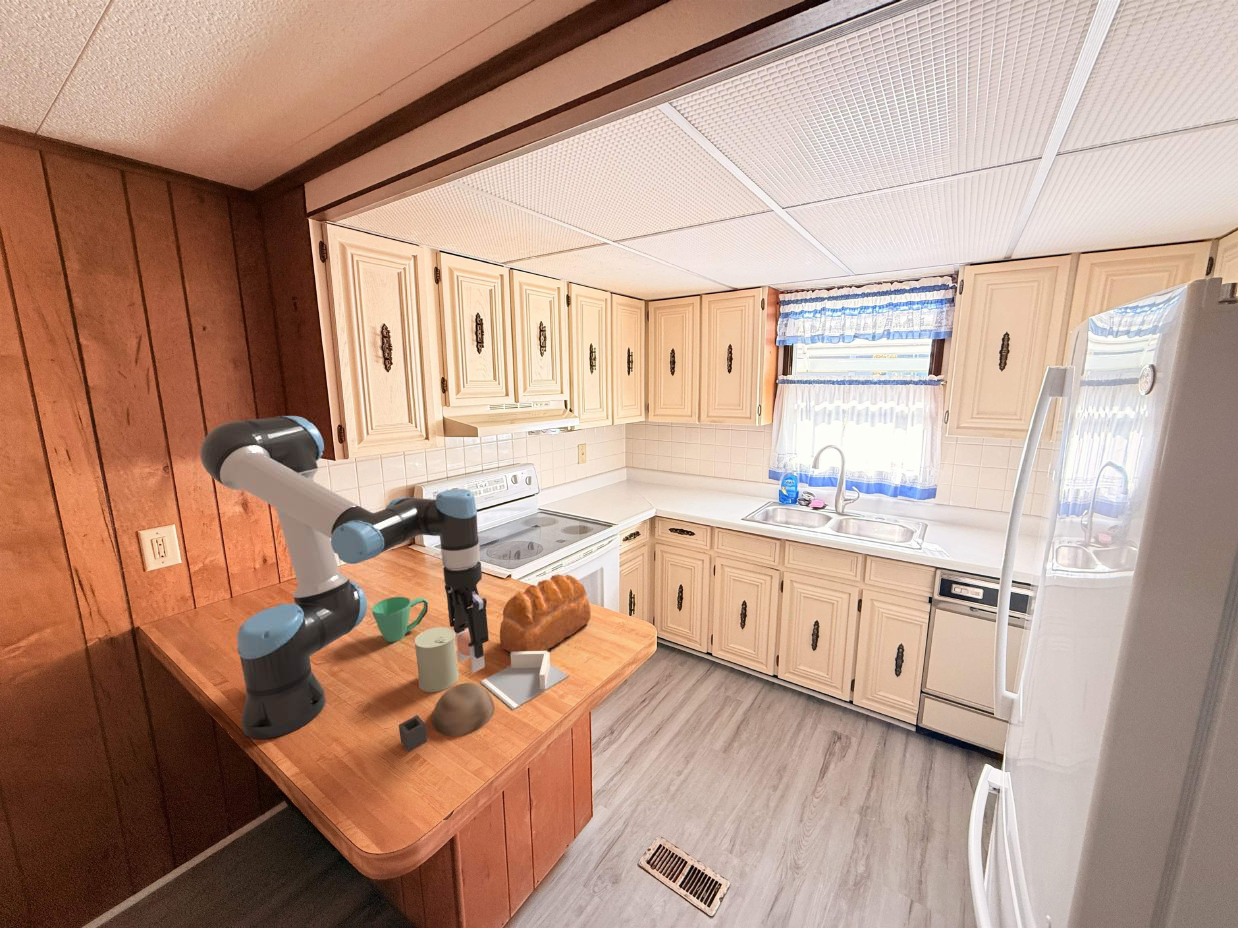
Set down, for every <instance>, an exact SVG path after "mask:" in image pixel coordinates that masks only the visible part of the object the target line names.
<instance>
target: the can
mask: <svg viewBox="0 0 1238 928" xmlns="http://www.w3.org/2000/svg"><path fill="white" fill-rule="evenodd" d="M413 642H414V647H415V648H414V649H415V655H416V663H417V664H416V665H417V674H418V687H419V688H420V689H421V691H423V692H426V693H436V692H442V691H444V690H448V689H450V688H452V687H453V686H454V685H455V684H456V683H457V682H458V680H459V678H460V677H459V676H460V673H459V669H458V656H457V650H456V648H457V647H456V646H457V644H456V633H455V631H454V629H453V628H452V627H451V628H450V627H447V626H436V627H432V628H428V629H426V630H424V631H421V633H418V635H417V636H416V637H415V638H414V641H413Z"/></svg>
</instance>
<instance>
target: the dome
mask: <svg viewBox="0 0 1238 928" xmlns="http://www.w3.org/2000/svg"><path fill="white" fill-rule="evenodd" d="M494 713H495V703H494V700H493V698H492V696H491V694H490V692H488V690H487V689H486V688H485V687H484V686H481V685H479V684H476V683H472V682H465V683H460V684H456V685H453V686H451V687H449V688H448V689H447V690H446V691H445V692H444V693H443V694H442V695H441V697H440V698H439V699H438V701H437V703H436V704H435V706H434V709H433V714H432V726H433V728H434V729H435V732H437V733H439V734H441V735H443V736H448V737H459V736H464V735H469V734H471V733H473V732H476V731H477V730H479V729H481V728H482V727H484V726H485V725H486V724H487V723H488V722H489V721H490V720H491V718H492V717H493V715H494Z"/></svg>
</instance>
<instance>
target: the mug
mask: <svg viewBox="0 0 1238 928" xmlns="http://www.w3.org/2000/svg"><path fill="white" fill-rule="evenodd" d="M422 603H423V607H422V609H421V611H420V612H419V614H418V616H417V617H416V619H415V620H414V621H412V622H411V623H410V624H409V621H410V612H411V608H412V607H415V606H416V605H418V604H422ZM428 606H429V600H428V599H426V598H424V597H422V596H420V597H418V598H414V599H413V600H410V598H408V597H404V596H393V597H387V598H385V599H381V600H379V601H378V602H376V603H375V604H374V605H372V606H371V607H372V608H371V612H372V613H371V614H372V616H373V618H374V620H375V622H376V625H377V628H378V630H379V632H380V634H381V635H382V637H383V639H385V641H386V642H387V643H388V642H389V643H396V642H399V641H401V640H402V639H403V638H404V637H405V635H406V634H407V633H409V632H410V631H412V630H413V629H414V628H416V627H417V626H418V625H420V623H421V621H422V620H423V619H424V618H425V616H426V614H427V613H428V611H429V610H428V608H429V607H428Z"/></svg>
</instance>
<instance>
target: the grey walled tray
mask: <svg viewBox="0 0 1238 928" xmlns="http://www.w3.org/2000/svg"><path fill="white" fill-rule="evenodd" d="M550 659H551V657H550V651H548V650H547V651H519V652H510V665H509V666H507V667H506V668H503V669H501V670H499V671H497V672H496V673H494V674H491V675H490V676H488V677H486V678H484V679H483V680H480V681H479V683H480V684H481V685H483V687H484V688H485V689H486V690H488V691H490V692H491V693H492V694H493V695H494V696H496V697H497V698H498V699H499V700H500V701H501V702H503V703H504V704H505V705H506V706H508V707H509V708H510V709H511V710H513V711H514V710H516V709H517V708H519V707H520V706H522V705H524V704H526V703H527V702H529V701H531V700H532V699H535V697H537V696H538V695H540V694H542V693H544V692H546V691H547V690H549V689H550V688H552V687H554V686H555V685H557V684H559V683H560V682H562V681H564V680H565V679H567V678H569V675H568V674H567V673H565V672H564V671H562V670H561V669H559V668H557V667H556V666H555V665H553V664H552V663H551V660H550Z"/></svg>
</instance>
